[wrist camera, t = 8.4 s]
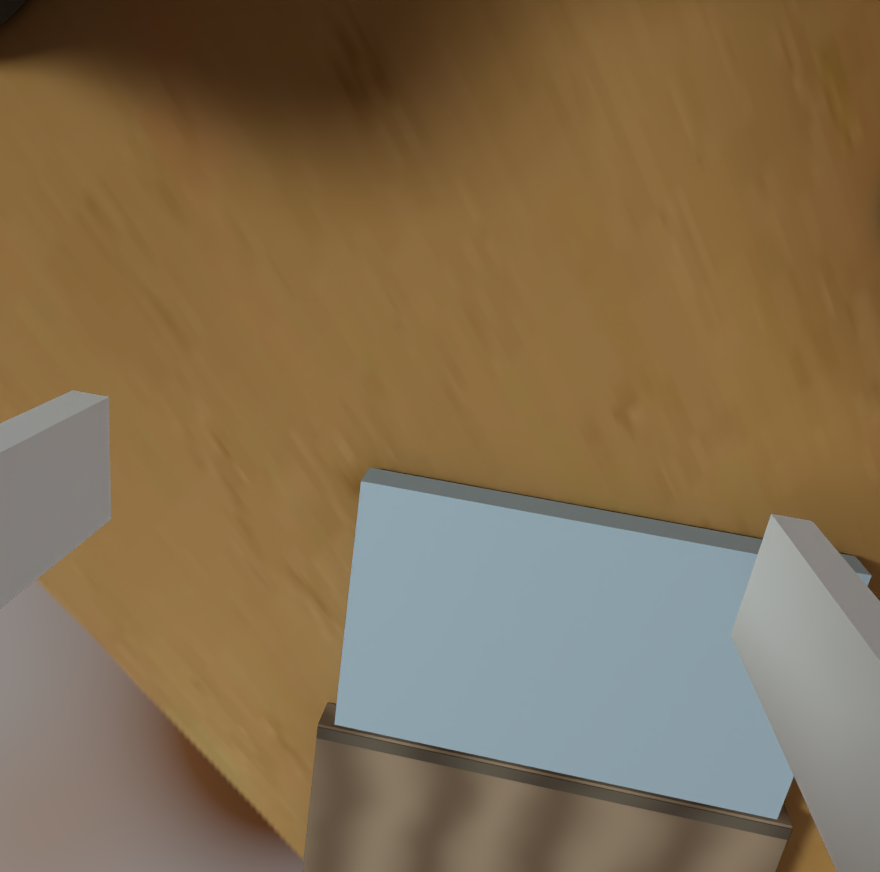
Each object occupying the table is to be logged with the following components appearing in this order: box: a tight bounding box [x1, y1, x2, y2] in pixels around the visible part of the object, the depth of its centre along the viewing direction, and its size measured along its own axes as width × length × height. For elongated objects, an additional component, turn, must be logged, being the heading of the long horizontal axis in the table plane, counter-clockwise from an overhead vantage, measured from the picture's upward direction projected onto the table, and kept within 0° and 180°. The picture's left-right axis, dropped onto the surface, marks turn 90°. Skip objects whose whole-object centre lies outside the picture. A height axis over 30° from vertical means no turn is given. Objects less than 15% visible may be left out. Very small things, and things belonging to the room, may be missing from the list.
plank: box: [334, 468, 872, 819], centre depth 40 cm, size 26×16×2 cm, turn 82°
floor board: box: [302, 703, 793, 872], centre depth 45 cm, size 28×12×2 cm, turn 82°
